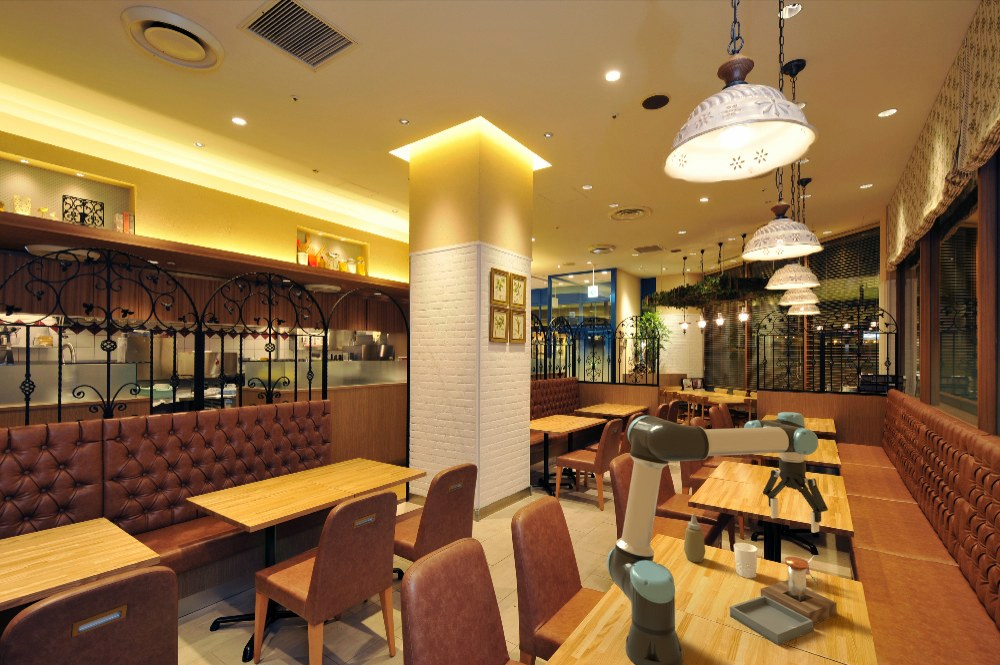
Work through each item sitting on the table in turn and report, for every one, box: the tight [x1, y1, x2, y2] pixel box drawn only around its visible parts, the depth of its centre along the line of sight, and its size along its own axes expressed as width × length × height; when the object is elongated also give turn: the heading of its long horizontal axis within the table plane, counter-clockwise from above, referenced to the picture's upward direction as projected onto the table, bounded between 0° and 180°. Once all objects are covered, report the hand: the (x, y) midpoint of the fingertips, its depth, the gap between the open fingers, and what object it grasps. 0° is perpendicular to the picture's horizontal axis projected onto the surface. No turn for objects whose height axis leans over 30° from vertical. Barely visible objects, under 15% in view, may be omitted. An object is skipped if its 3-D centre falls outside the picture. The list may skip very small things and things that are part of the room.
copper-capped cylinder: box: [784, 556, 808, 602], centre depth 154 cm, size 6×6×15 cm
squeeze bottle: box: [683, 513, 706, 563], centre depth 189 cm, size 8×8×18 cm
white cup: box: [733, 542, 758, 579], centre depth 177 cm, size 8×8×10 cm
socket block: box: [760, 579, 838, 626], centre depth 154 cm, size 14×16×4 cm
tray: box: [729, 595, 814, 646], centre depth 146 cm, size 16×16×3 cm
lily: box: [806, 555, 819, 586], centre depth 170 cm, size 12×12×10 cm
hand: (794, 524), depth 155 cm, fingers open, 13 cm apart
